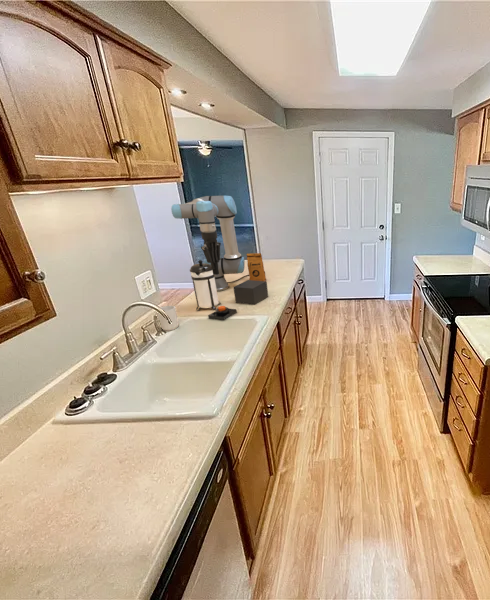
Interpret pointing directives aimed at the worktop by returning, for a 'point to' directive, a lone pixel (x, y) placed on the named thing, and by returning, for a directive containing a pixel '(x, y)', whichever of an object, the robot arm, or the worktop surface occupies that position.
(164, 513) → the worktop surface
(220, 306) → the button
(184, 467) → the worktop surface
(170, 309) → the mug
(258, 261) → the coffee package
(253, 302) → the dark grey box
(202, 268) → the coffee press
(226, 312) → the panel
